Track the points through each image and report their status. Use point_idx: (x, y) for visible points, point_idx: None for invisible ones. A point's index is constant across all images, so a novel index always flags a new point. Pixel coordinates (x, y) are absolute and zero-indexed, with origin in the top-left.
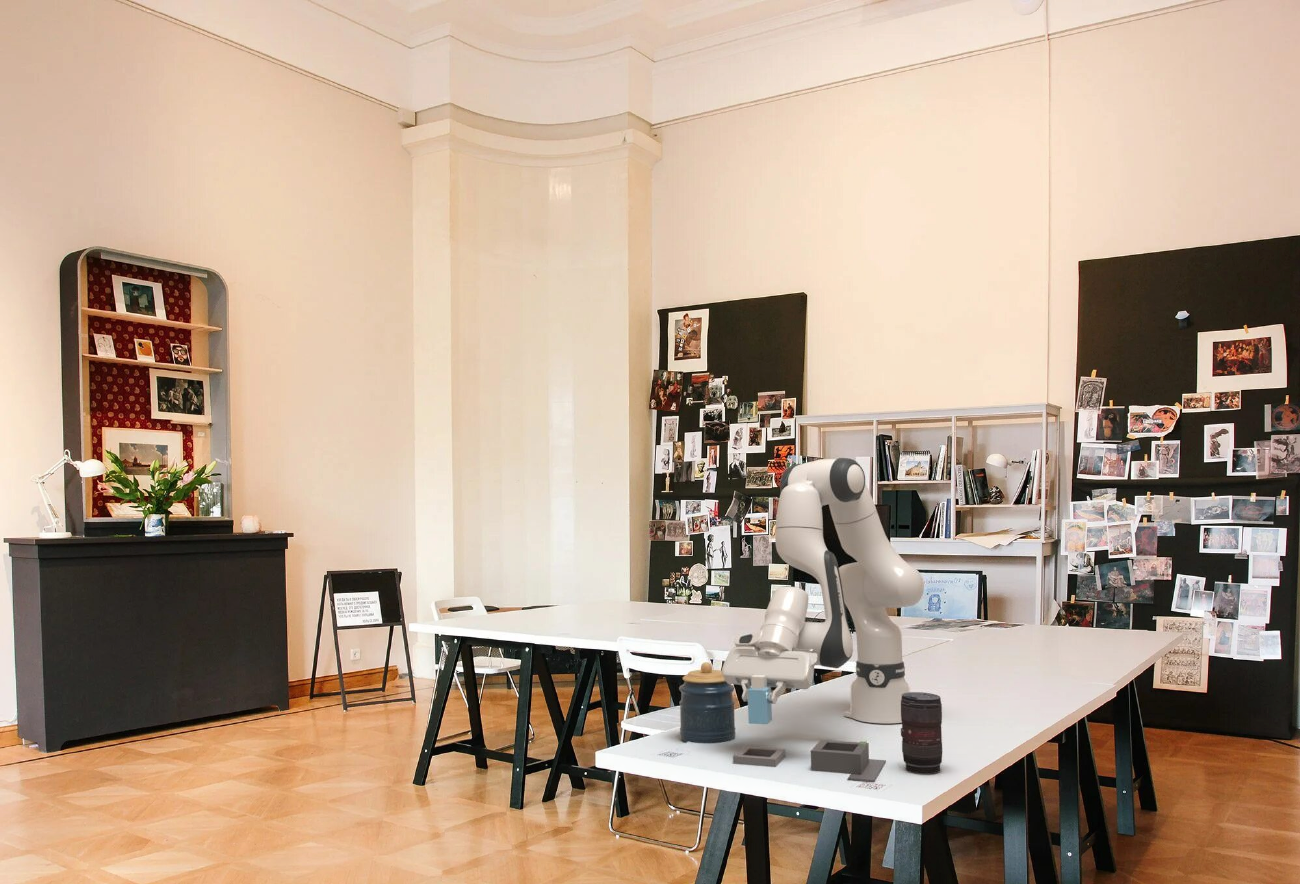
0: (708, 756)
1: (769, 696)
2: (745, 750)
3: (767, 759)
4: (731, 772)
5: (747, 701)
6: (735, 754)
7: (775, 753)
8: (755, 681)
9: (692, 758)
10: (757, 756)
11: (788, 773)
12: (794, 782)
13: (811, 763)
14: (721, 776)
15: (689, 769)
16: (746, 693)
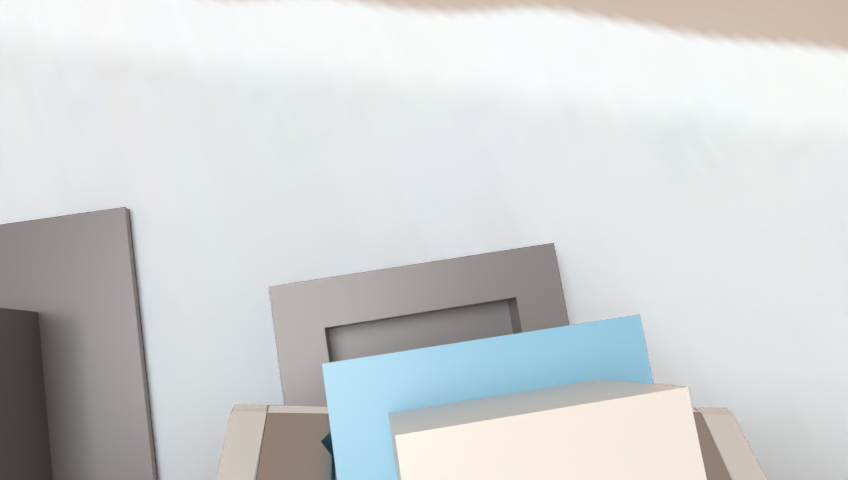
0: (781, 395)
1: (301, 430)
2: None
3: (323, 279)
4: (485, 120)
5: None
6: (560, 290)
7: None
8: (560, 397)
9: (838, 305)
10: (408, 308)
11: (173, 244)
12: (75, 81)
13: (12, 310)
14: (497, 24)
15: (722, 78)
16: None
